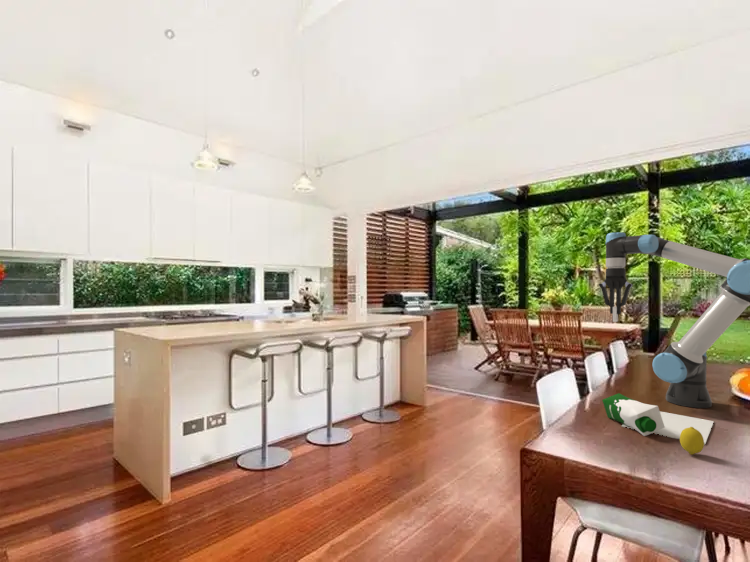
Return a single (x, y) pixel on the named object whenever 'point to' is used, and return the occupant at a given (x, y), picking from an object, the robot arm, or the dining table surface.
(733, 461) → the dining table surface
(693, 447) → the lemon
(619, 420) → the soya milk
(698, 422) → the mat
